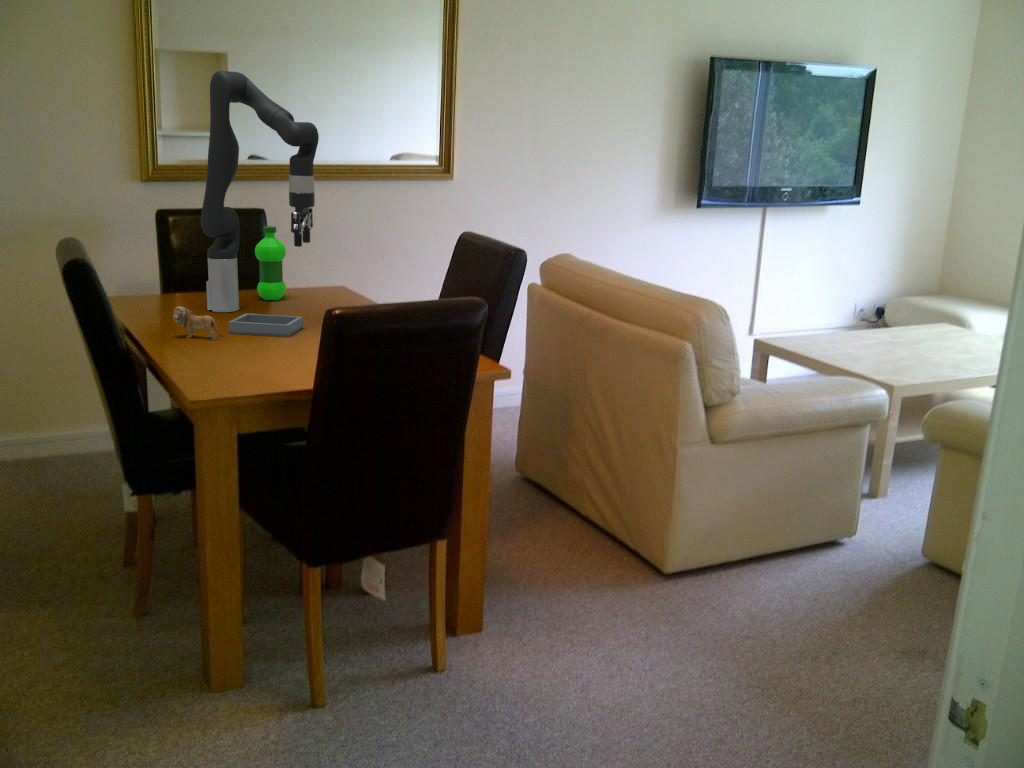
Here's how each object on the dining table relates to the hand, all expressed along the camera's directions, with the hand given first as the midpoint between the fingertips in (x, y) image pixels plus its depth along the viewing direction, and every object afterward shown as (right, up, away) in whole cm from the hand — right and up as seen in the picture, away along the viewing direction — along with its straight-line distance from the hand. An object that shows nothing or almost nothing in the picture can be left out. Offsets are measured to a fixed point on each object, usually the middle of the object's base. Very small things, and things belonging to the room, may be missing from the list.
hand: (302, 244), depth 316 cm
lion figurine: (-27, -29, -16) cm, 43 cm away
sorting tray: (-10, -26, -4) cm, 29 cm away
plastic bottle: (-19, -13, +44) cm, 50 cm away
